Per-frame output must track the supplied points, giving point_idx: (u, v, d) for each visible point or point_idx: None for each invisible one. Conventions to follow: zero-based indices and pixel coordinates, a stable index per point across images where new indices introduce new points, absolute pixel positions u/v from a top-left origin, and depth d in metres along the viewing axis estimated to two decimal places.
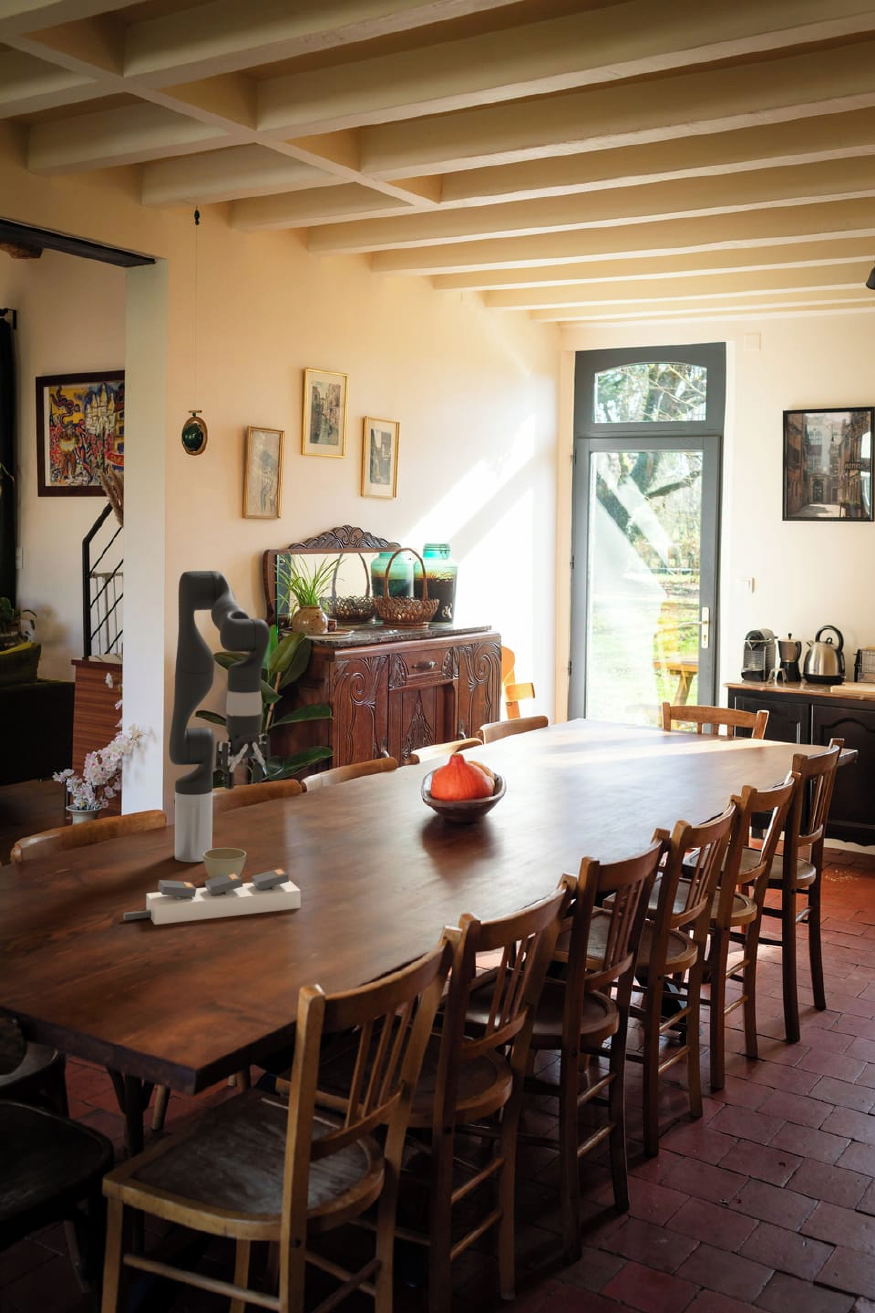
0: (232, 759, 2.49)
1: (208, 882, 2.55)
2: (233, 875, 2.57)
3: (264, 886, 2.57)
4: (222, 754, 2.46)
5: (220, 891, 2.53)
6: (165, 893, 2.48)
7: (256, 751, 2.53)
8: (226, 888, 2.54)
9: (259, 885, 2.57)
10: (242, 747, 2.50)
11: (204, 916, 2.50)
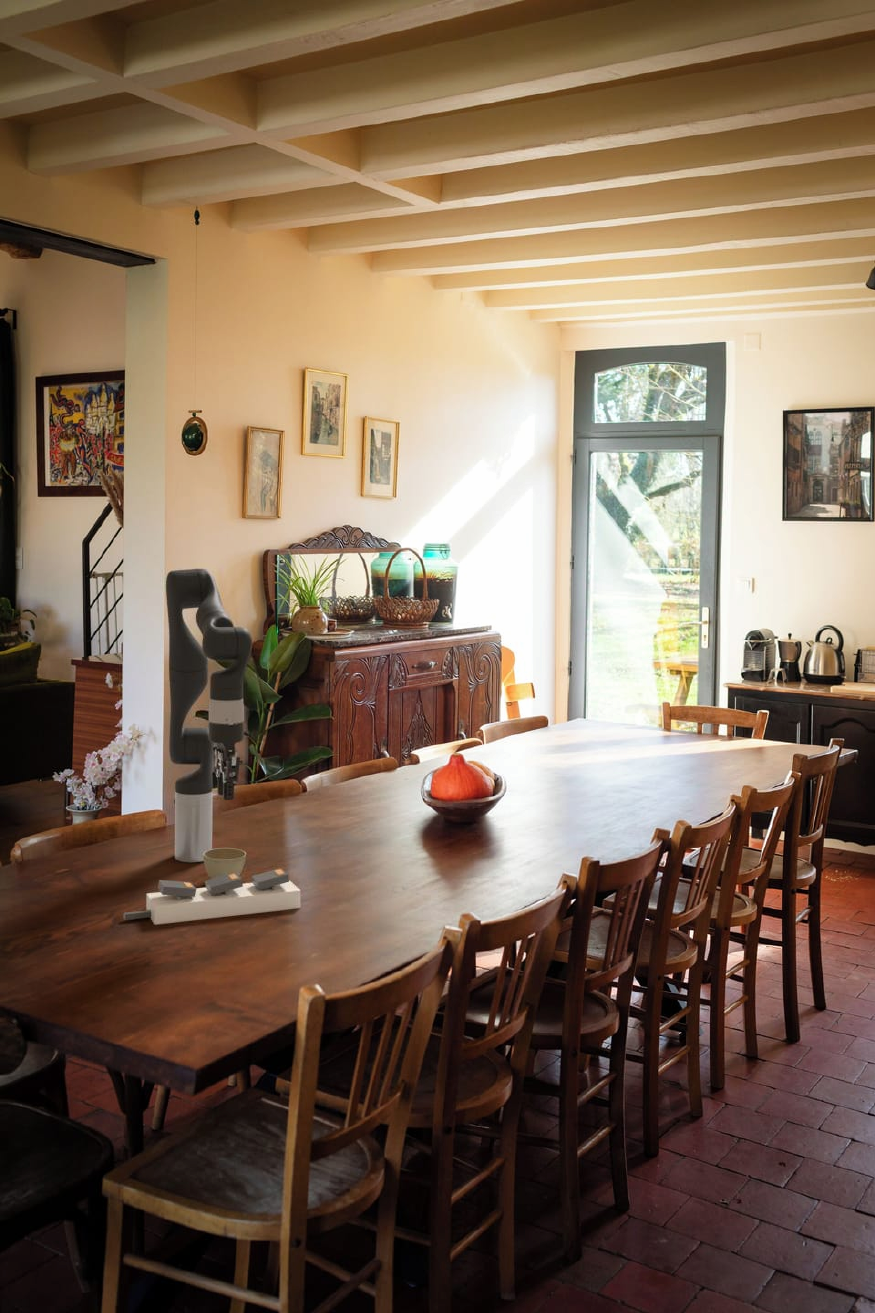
0: None
1: (208, 882, 2.55)
2: (233, 875, 2.57)
3: (264, 886, 2.57)
4: (236, 768, 2.48)
5: (220, 891, 2.53)
6: (165, 893, 2.48)
7: None
8: (226, 888, 2.54)
9: (259, 885, 2.57)
10: (236, 755, 2.52)
11: (204, 916, 2.50)
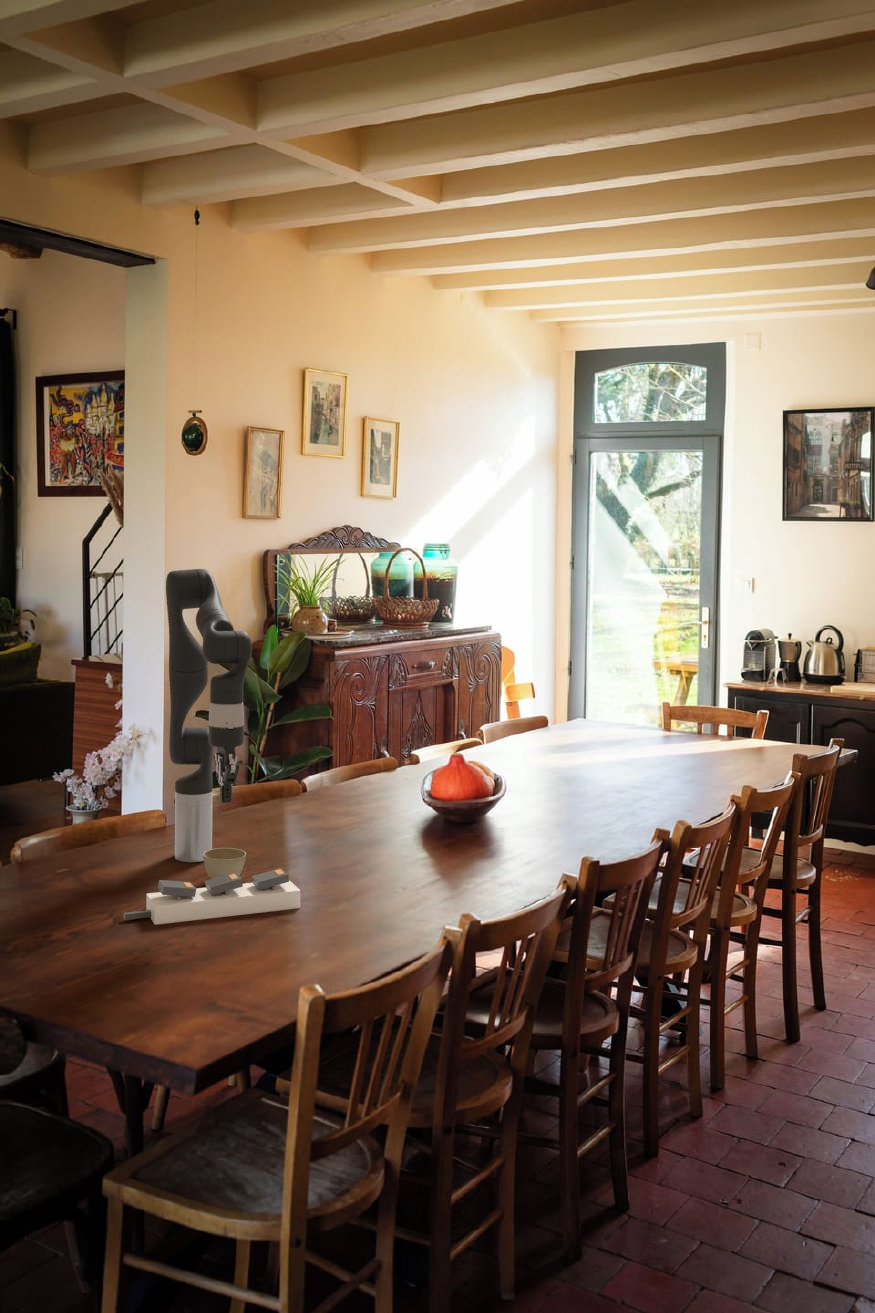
0: None
1: (208, 882, 2.55)
2: (233, 875, 2.57)
3: (264, 886, 2.57)
4: (235, 775, 2.49)
5: (220, 891, 2.53)
6: (165, 893, 2.48)
7: None
8: (226, 888, 2.54)
9: (259, 885, 2.57)
10: (236, 760, 2.52)
11: (204, 916, 2.50)
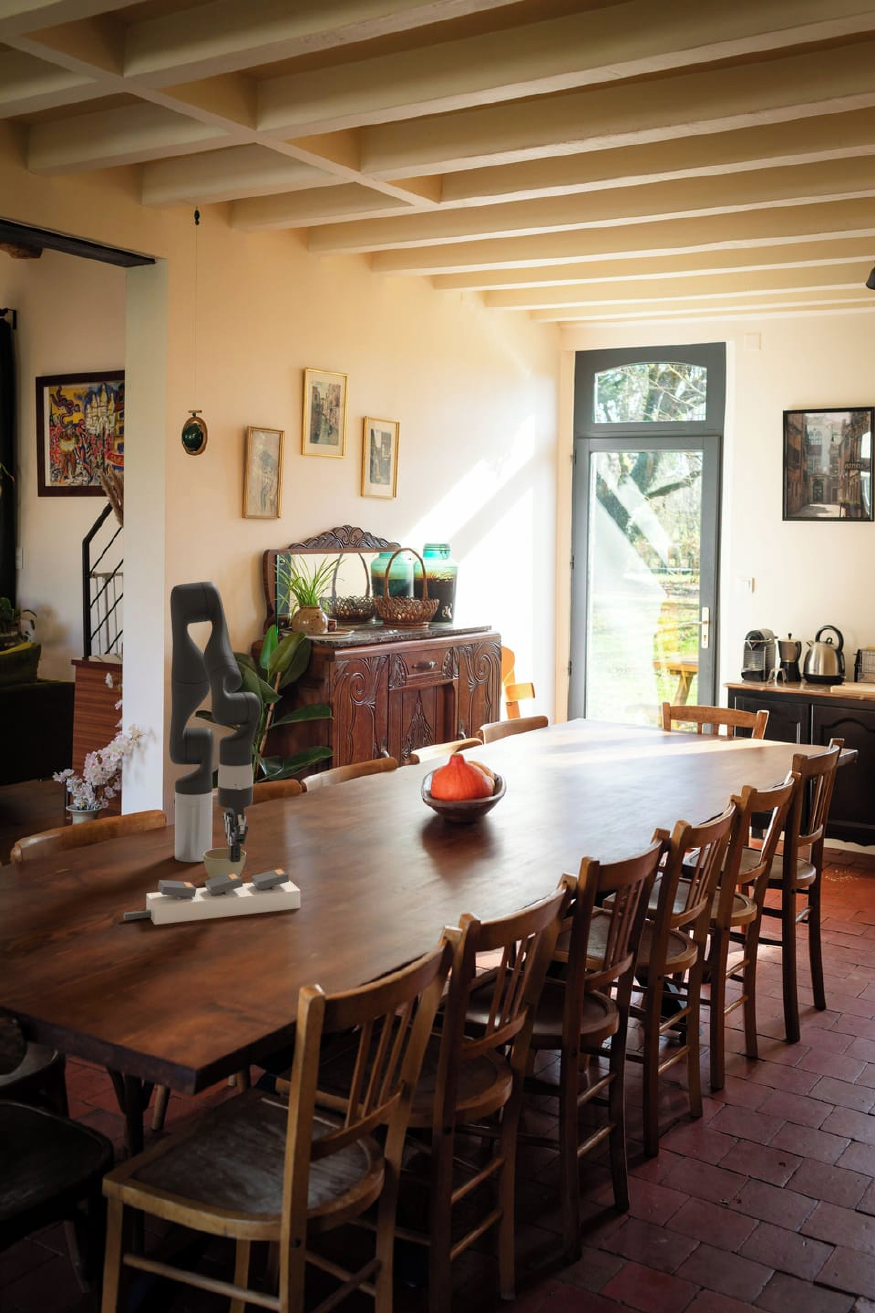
0: None
1: (208, 882, 2.55)
2: (233, 875, 2.57)
3: (264, 886, 2.57)
4: (244, 835, 2.51)
5: (220, 891, 2.53)
6: (165, 893, 2.48)
7: None
8: (226, 888, 2.54)
9: (259, 885, 2.57)
10: (245, 820, 2.54)
11: (204, 916, 2.50)
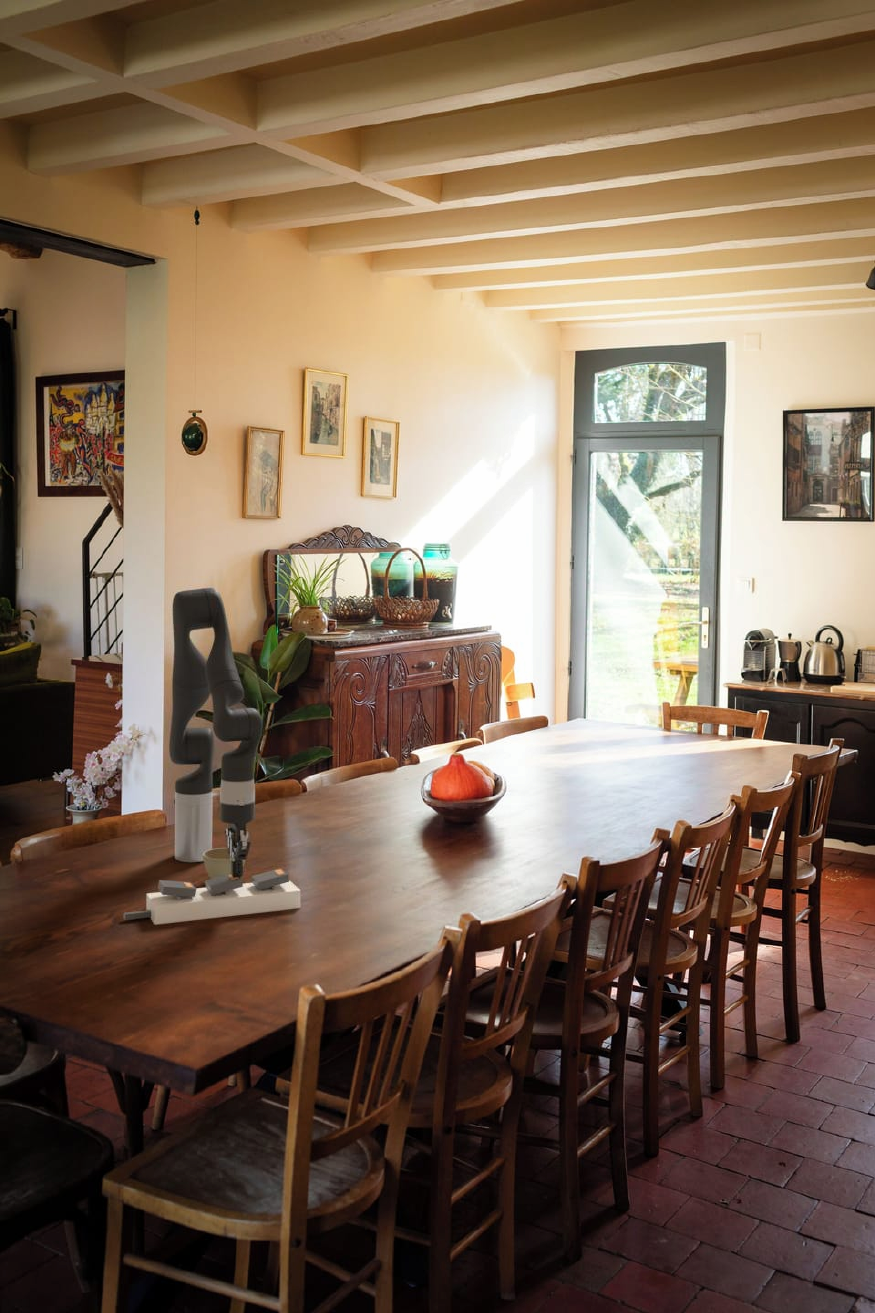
0: None
1: (208, 882, 2.55)
2: None
3: (264, 886, 2.57)
4: (246, 851, 2.52)
5: (220, 891, 2.53)
6: (165, 893, 2.48)
7: None
8: (226, 888, 2.54)
9: (259, 885, 2.57)
10: (247, 835, 2.55)
11: (204, 916, 2.50)
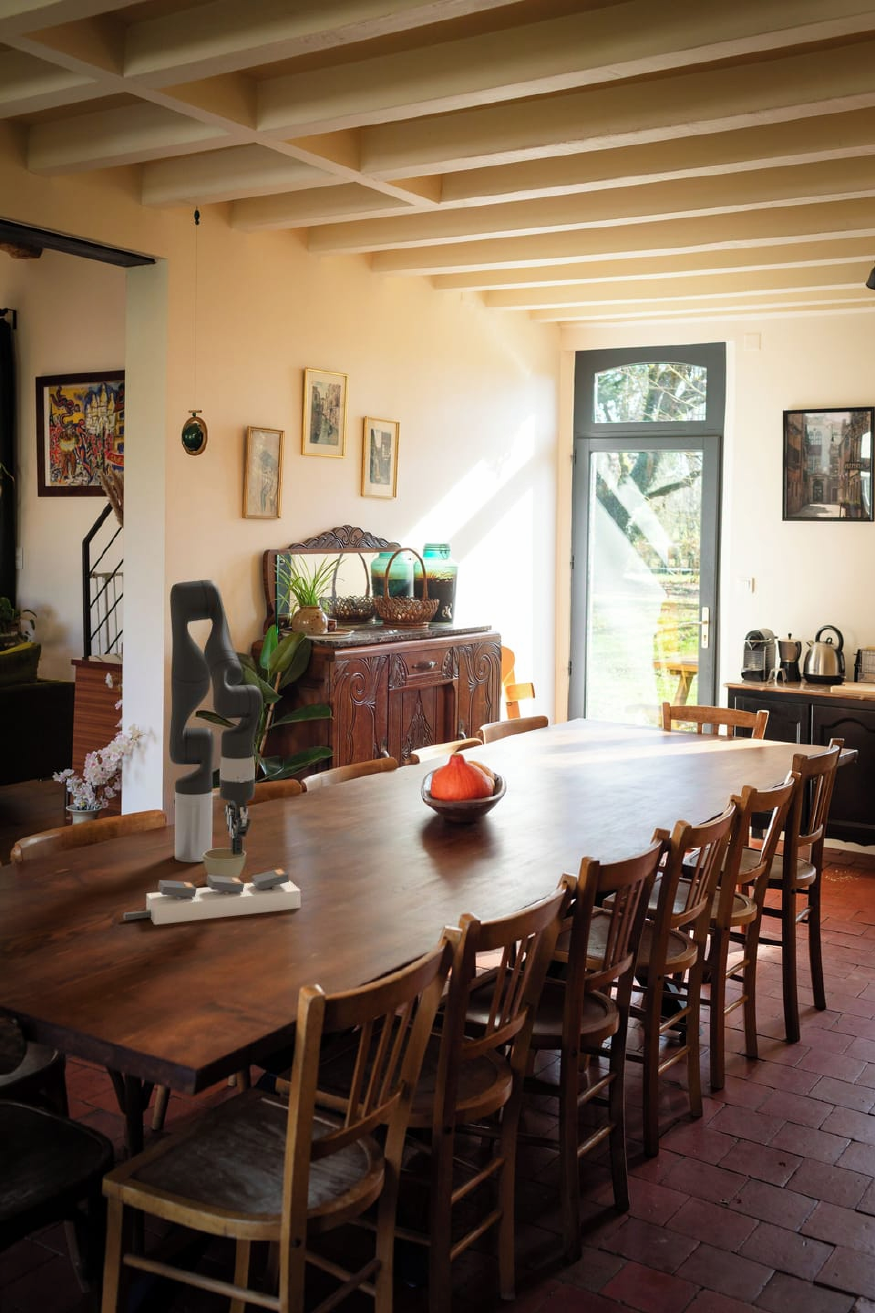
0: None
1: (211, 877, 2.55)
2: (236, 879, 2.58)
3: (264, 886, 2.57)
4: (245, 828, 2.52)
5: (220, 889, 2.53)
6: (165, 893, 2.48)
7: None
8: (227, 888, 2.54)
9: (259, 885, 2.57)
10: (246, 812, 2.54)
11: (204, 916, 2.50)
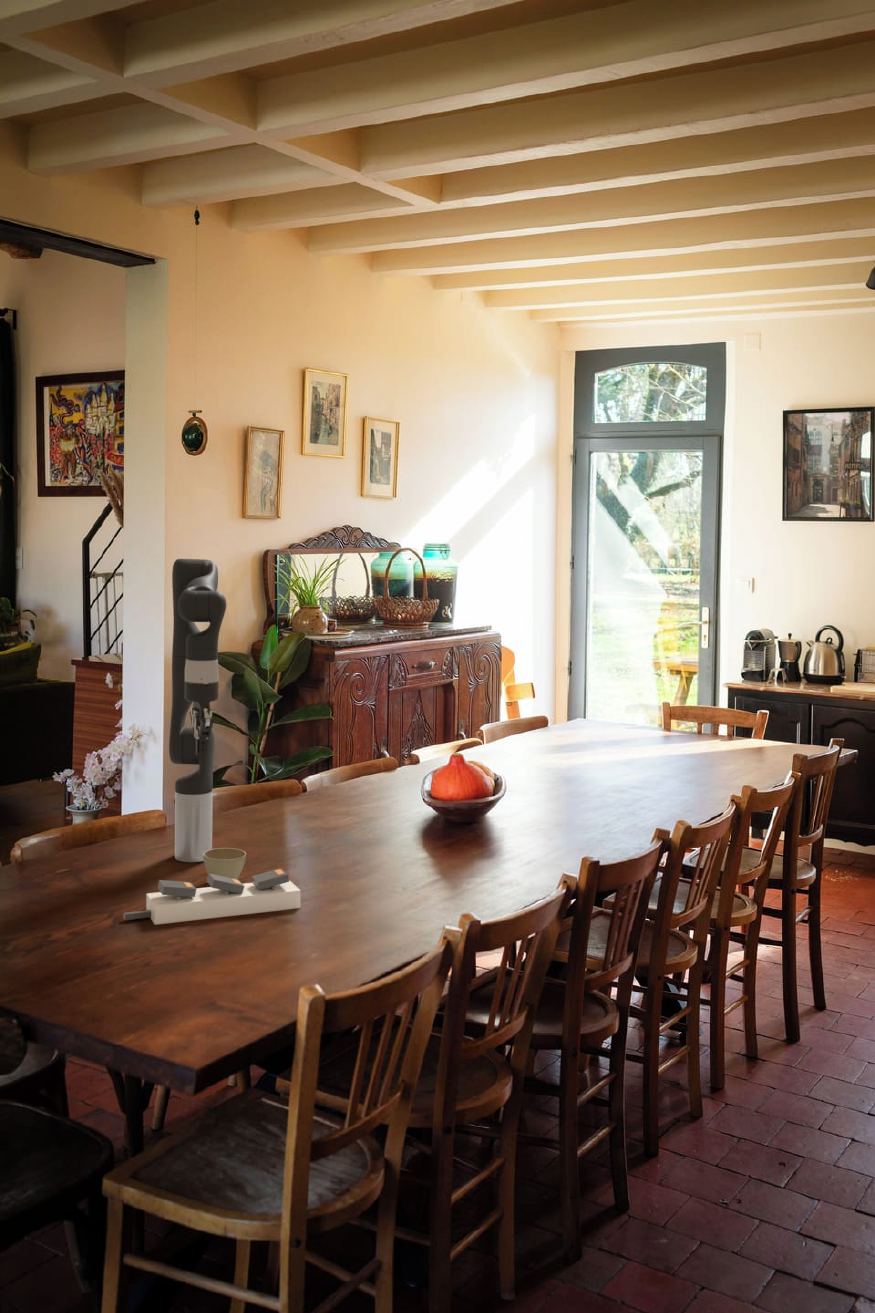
0: None
1: (212, 875, 2.56)
2: (236, 880, 2.58)
3: (264, 886, 2.57)
4: (209, 728, 2.60)
5: (221, 888, 2.53)
6: (165, 893, 2.48)
7: None
8: (227, 888, 2.54)
9: (259, 885, 2.57)
10: (210, 714, 2.63)
11: (204, 916, 2.50)
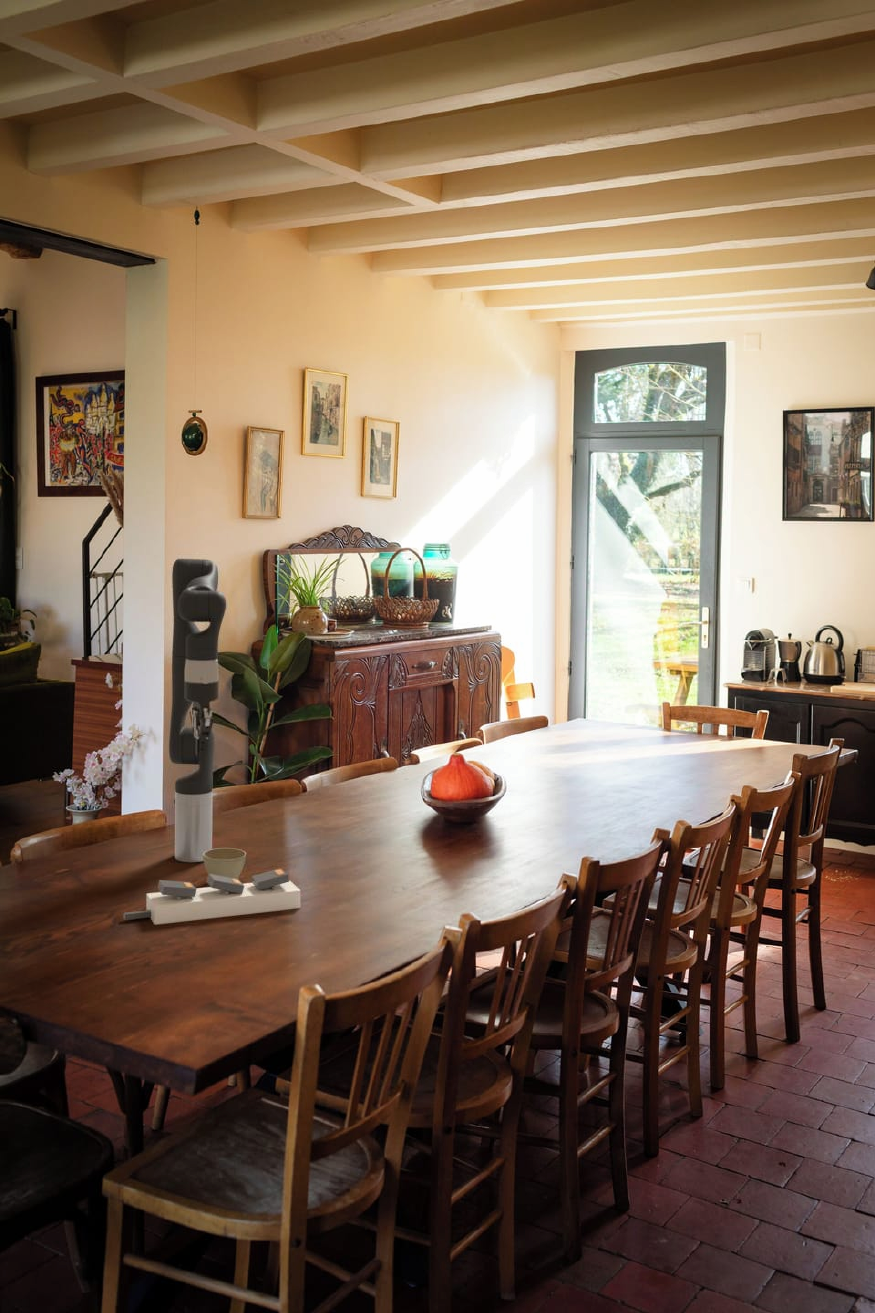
0: None
1: (212, 876, 2.56)
2: (236, 880, 2.58)
3: (264, 886, 2.57)
4: (209, 728, 2.60)
5: (220, 888, 2.53)
6: (165, 893, 2.48)
7: None
8: (227, 888, 2.54)
9: (259, 885, 2.57)
10: (210, 714, 2.63)
11: (204, 916, 2.50)
